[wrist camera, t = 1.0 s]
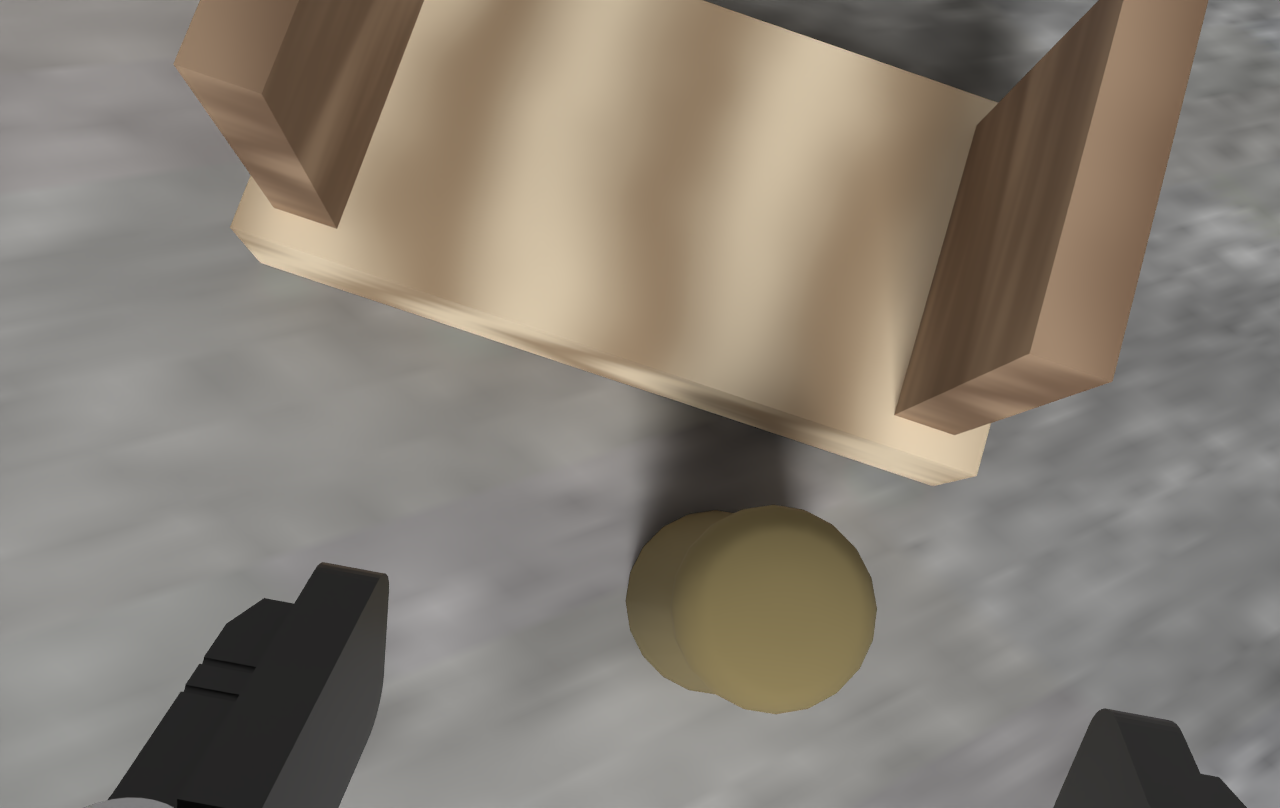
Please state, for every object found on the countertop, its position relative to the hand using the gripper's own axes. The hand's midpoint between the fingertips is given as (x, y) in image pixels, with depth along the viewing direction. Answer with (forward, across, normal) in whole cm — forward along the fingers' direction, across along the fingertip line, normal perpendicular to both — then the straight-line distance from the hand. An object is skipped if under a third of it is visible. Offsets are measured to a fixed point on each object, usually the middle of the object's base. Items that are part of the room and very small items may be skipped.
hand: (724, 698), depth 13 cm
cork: (+22, -2, +14) cm, 26 cm away
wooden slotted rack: (+29, +3, +4) cm, 29 cm away
